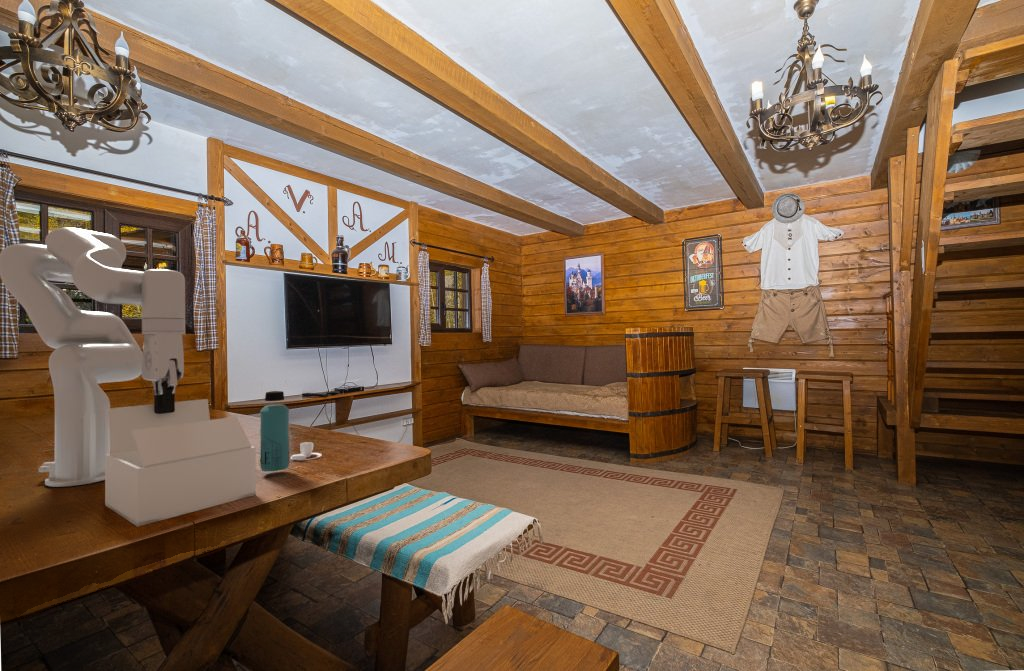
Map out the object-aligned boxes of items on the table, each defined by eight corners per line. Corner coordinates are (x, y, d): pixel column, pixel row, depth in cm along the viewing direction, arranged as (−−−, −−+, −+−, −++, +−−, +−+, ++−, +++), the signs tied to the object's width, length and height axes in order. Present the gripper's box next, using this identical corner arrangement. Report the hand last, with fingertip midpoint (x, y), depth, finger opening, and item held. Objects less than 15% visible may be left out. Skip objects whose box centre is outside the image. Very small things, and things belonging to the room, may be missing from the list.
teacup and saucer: (297, 464, 123) (297, 448, 123) (282, 459, 128) (282, 444, 128) (327, 457, 130) (327, 442, 130) (312, 453, 135) (312, 439, 135)
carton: (137, 526, 81) (137, 469, 81) (105, 505, 91) (105, 454, 91) (255, 494, 97) (255, 446, 97) (216, 479, 108) (216, 436, 108)
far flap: (108, 408, 94) (107, 409, 94) (111, 453, 92) (110, 453, 92) (207, 398, 108) (206, 399, 109) (212, 437, 107) (210, 437, 107)
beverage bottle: (295, 470, 115) (295, 389, 115) (279, 478, 109) (279, 392, 109) (270, 469, 116) (270, 389, 116) (253, 477, 109) (253, 392, 109)
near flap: (144, 467, 82) (145, 465, 82) (132, 432, 86) (132, 430, 85) (250, 447, 97) (251, 445, 96) (235, 418, 100) (236, 416, 100)
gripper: (130, 328, 101) (131, 412, 101) (155, 326, 93) (156, 418, 93) (171, 328, 107) (171, 408, 107) (198, 326, 99) (199, 413, 99)
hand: (164, 412), depth 100 cm, fingers closed
